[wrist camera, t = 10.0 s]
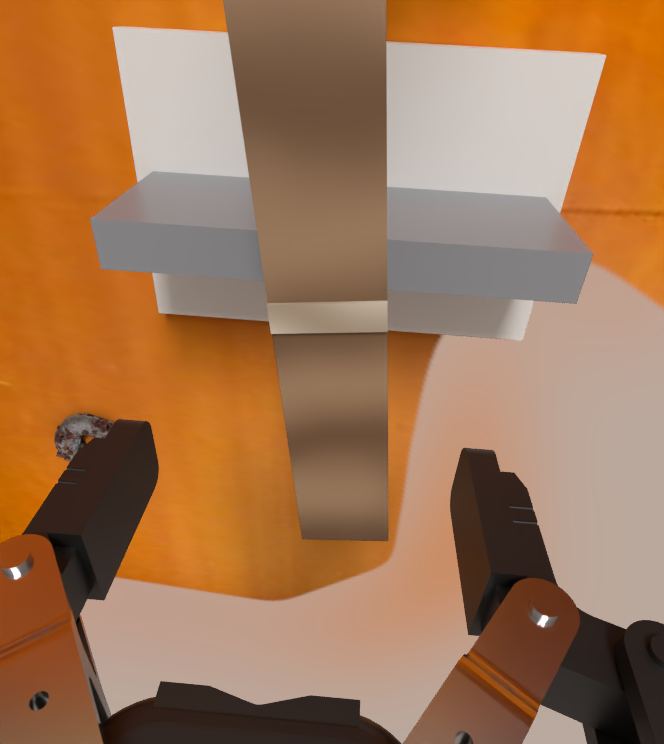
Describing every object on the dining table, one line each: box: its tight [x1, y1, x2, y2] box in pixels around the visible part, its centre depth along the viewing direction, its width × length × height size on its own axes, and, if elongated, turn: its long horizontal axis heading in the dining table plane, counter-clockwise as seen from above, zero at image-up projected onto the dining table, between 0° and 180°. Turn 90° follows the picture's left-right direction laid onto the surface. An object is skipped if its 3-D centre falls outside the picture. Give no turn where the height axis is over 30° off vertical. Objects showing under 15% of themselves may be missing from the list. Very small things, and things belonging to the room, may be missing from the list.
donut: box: [54, 413, 114, 462], centre depth 44 cm, size 8×8×2 cm
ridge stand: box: [90, 26, 606, 340], centre depth 28 cm, size 24×16×9 cm, turn 87°
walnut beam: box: [223, 0, 388, 541], centre depth 22 cm, size 26×4×5 cm, turn 4°
